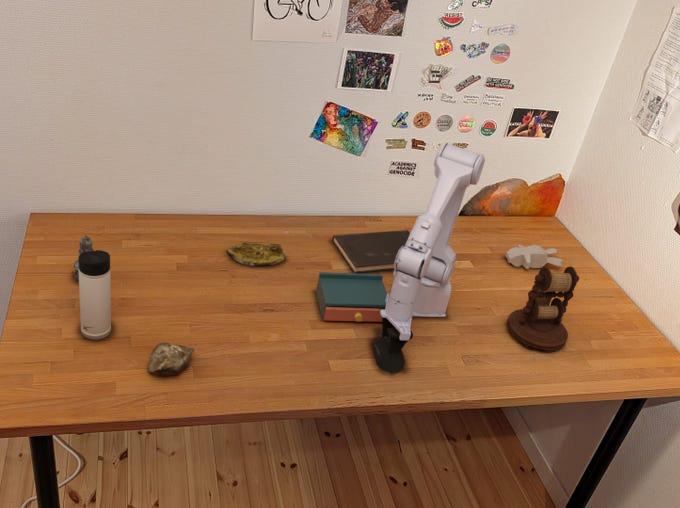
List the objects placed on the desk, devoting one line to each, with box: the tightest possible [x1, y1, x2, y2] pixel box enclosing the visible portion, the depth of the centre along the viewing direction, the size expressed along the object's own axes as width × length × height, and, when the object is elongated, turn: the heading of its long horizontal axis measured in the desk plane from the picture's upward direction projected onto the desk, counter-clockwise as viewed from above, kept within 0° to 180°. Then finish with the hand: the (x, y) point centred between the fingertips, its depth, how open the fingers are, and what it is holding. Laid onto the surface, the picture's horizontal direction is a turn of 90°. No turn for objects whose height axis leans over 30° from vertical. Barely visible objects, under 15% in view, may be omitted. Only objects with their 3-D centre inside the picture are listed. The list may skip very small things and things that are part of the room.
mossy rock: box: [226, 242, 285, 267], centre depth 193 cm, size 9×5×15 cm
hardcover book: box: [331, 229, 411, 274], centre depth 204 cm, size 16×23×2 cm
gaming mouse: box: [371, 333, 406, 374], centre depth 169 cm, size 6×15×4 cm, turn 10°
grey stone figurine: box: [72, 234, 95, 283], centre depth 173 cm, size 6×6×12 cm
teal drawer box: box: [315, 271, 388, 321], centre depth 181 cm, size 16×11×6 cm
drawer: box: [323, 306, 382, 323], centre depth 180 cm, size 16×12×3 cm
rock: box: [147, 342, 195, 376], centre depth 154 cm, size 8×7×10 cm
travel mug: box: [77, 249, 112, 341], centre depth 156 cm, size 6×7×20 cm
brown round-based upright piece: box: [506, 265, 580, 351], centre depth 179 cm, size 15×15×20 cm
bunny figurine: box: [505, 244, 564, 270], centre depth 211 cm, size 10×5×15 cm
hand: (389, 345), depth 169 cm, fingers closed on gaming mouse, 6 cm apart
